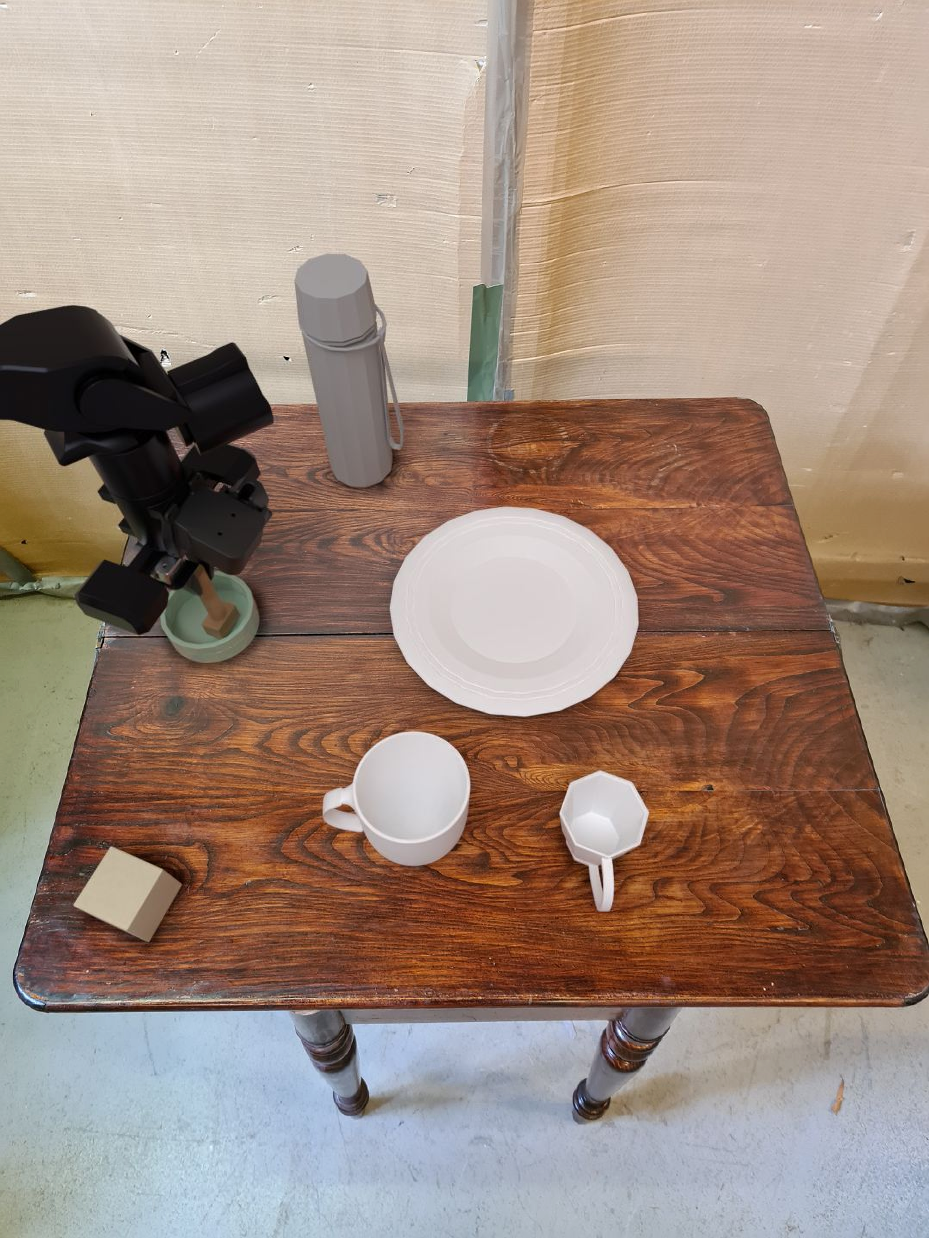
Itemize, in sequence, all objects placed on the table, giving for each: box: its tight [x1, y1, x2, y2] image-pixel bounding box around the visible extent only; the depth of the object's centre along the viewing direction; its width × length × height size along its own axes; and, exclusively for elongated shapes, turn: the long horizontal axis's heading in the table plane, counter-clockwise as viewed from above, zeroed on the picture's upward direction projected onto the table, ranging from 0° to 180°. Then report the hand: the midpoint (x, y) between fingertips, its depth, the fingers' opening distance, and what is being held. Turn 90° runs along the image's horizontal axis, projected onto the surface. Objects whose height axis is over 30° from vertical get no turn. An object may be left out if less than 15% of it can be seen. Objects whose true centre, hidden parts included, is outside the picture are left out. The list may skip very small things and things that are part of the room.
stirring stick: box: [194, 564, 240, 639], centre depth 75 cm, size 2×3×10 cm, turn 158°
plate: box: [389, 506, 640, 718], centre depth 80 cm, size 25×25×2 cm
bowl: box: [159, 570, 260, 664], centre depth 79 cm, size 9×9×3 cm
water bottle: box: [294, 253, 405, 488], centre depth 81 cm, size 9×8×25 cm
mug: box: [322, 730, 471, 867], centre depth 64 cm, size 12×9×12 cm
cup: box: [558, 769, 650, 912], centre depth 65 cm, size 7×10×8 cm
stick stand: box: [73, 845, 183, 943], centre depth 64 cm, size 5×5×5 cm
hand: (202, 585), depth 73 cm, fingers closed on stirring stick, 2 cm apart
